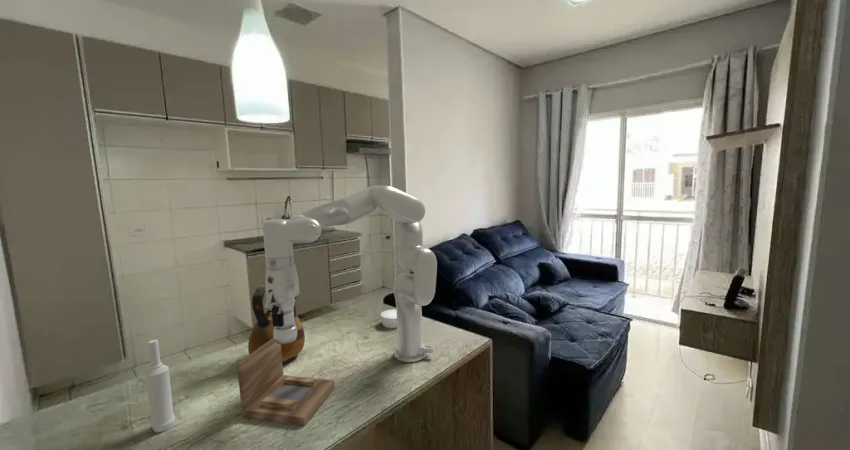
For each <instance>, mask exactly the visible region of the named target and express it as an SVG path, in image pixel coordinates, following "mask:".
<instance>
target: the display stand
mask: <svg viewBox="0 0 850 450" xmlns="http://www.w3.org/2000/svg"><path fill="white" fill-rule="evenodd" d="M283 365H284V364H283V362H282V353H281V344H277V343H276V342H275V341H274V338H272V339H271V340H269V341H268V342H267V343H265V344H264V345H262V346H261V347H260V348H258V349H257V350H255V351H254V352H252V353H251V354H250V355H249V354H248V355H247V356H245V357H244V358H243V359H241V360H240V361H238V362H237V363H236V367H237V368H236V369H237V377H238V378H237V379H238V386H239V387H238V388H239V398H240V408H241V409H240V415H241V418H243V419H251V420H258V421H265V422H272V423H273V422H274V423H281V424H286V425H296V426H302V427H306V426H307V424H308V423H309V421H311V419H312V418H313V416H315V414H316V412H317V411H318V410H319V408H320V407H322V405H323V404H324V402H325V401H326V400H327V398H328V397H329V396H330V395H331V394H332V392H333V391H334V389H335V388H336V383H335V380H334V379H333V380H332V379H324V378H313V377H305V376H297V375H296V376H294V375H285V374H284V368H283V367H284V366H283Z"/></svg>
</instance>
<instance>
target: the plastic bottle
mask: <svg viewBox="0 0 850 450" xmlns="http://www.w3.org/2000/svg"><path fill="white" fill-rule="evenodd" d="M294 296H295V292H294V291H293V290H290V292H289V294H288V299H289V301H287V302H286V303H284V304H282V309H281V313H283V321H284V326H283V327H275V326H274V331H273V337H274V341H275V342H276V343H277V344H288V343H291V342H293V341H294V340H295V339H296V337H297V327H296V325H295V319H294V298H295V297H294ZM273 301H274V302H276V300H273ZM275 307H276V308H278V305H275Z"/></svg>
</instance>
